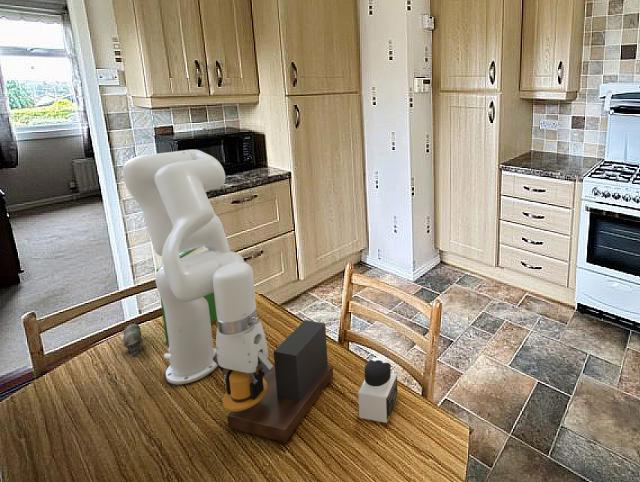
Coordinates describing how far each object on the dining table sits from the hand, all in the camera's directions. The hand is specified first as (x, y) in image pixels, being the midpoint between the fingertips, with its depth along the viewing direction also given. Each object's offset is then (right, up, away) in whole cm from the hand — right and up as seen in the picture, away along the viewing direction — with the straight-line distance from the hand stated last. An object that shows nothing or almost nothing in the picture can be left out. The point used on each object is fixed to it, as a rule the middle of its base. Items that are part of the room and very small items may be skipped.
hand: (245, 391), depth 85 cm
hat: (0, -1, 0) cm, 1 cm away
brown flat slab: (+6, -7, +7) cm, 11 cm away
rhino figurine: (-46, -4, +24) cm, 52 cm away
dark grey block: (+10, -3, +9) cm, 13 cm away
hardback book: (-35, -2, +36) cm, 50 cm away
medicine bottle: (+29, -8, +5) cm, 31 cm away
